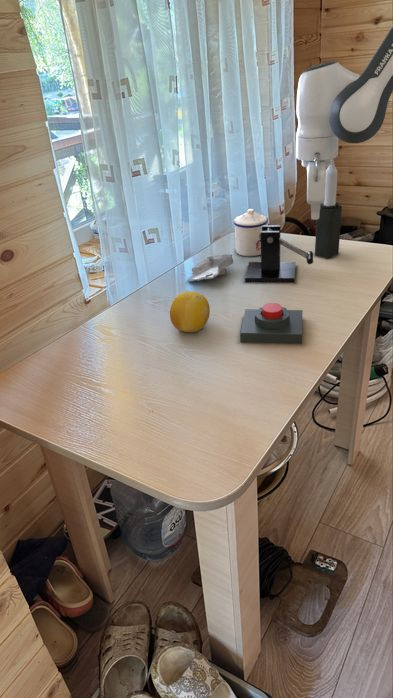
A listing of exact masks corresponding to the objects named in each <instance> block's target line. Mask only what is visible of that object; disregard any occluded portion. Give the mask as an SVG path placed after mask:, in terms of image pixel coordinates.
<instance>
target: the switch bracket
mask: <svg viewBox="0 0 393 698" xmlns="http://www.w3.org/2000/svg"><path fill="white" fill-rule="evenodd" d="M268 228H270V229H272V230H274V231H267V229H268ZM280 238H281V224H274V225H273V224H272V225H270V224H269V225H268V224H267V225H262V231H261V255H260V261H248V264H247V267H246V271H245V275H244V283H265V284H266V283H268V284H269V283H270V284H271V283H273V284H274V283H275V284H277V283H280V284H281V283H282V284H284V283H285V284H289V283H290V284H291V283H293V284H295V281H296V265H297V264H296V261H281V244H280Z"/></svg>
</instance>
